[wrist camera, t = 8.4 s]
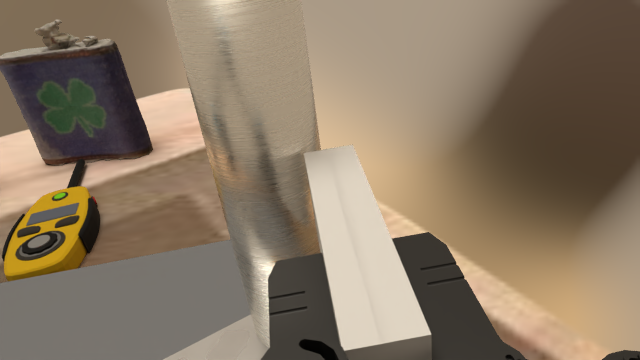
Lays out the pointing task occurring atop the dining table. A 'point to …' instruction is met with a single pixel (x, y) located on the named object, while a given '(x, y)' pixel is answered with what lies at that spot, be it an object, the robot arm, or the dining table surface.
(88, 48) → the flask
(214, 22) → the silver faucet
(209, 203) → the dining table surface
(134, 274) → the plate
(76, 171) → the yellow walkie-talkie
